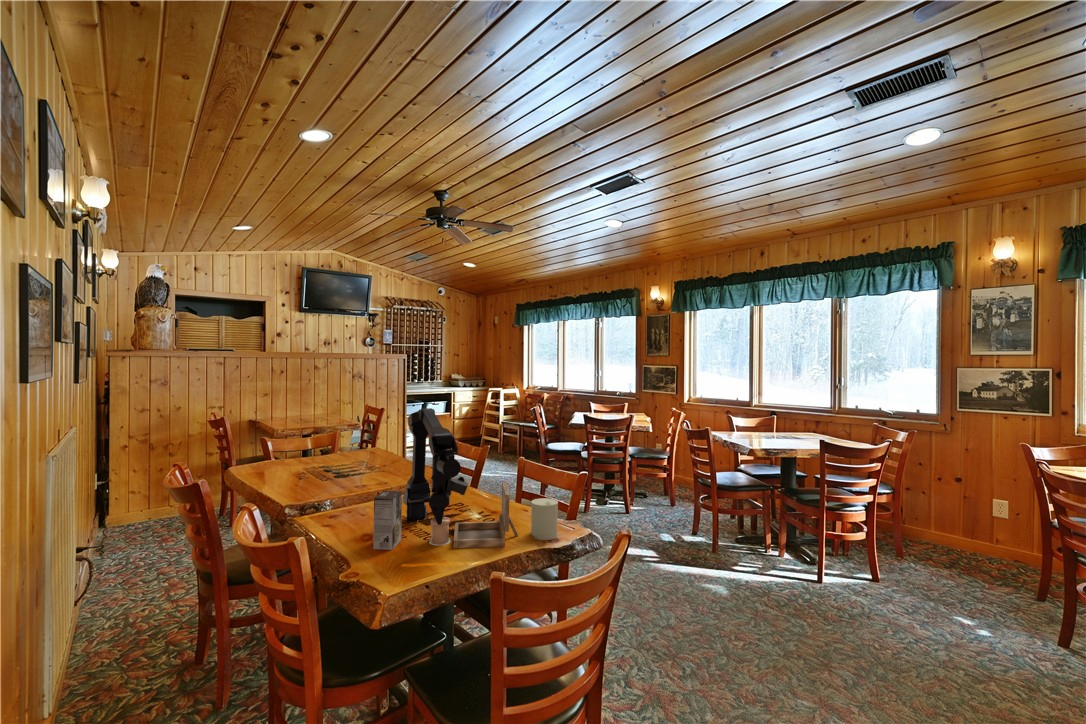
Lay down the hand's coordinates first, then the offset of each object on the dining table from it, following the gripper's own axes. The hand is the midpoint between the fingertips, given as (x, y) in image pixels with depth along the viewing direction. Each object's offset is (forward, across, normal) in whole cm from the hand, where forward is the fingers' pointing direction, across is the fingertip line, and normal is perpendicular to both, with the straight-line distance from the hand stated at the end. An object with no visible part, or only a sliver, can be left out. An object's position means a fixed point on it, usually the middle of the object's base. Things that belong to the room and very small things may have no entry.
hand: (440, 520), depth 165 cm
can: (+8, +5, -34) cm, 36 cm away
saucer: (+8, 0, 0) cm, 8 cm away
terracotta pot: (+7, 0, 0) cm, 7 cm away
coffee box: (+8, +1, +17) cm, 18 cm away
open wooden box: (+8, +3, -15) cm, 17 cm away
